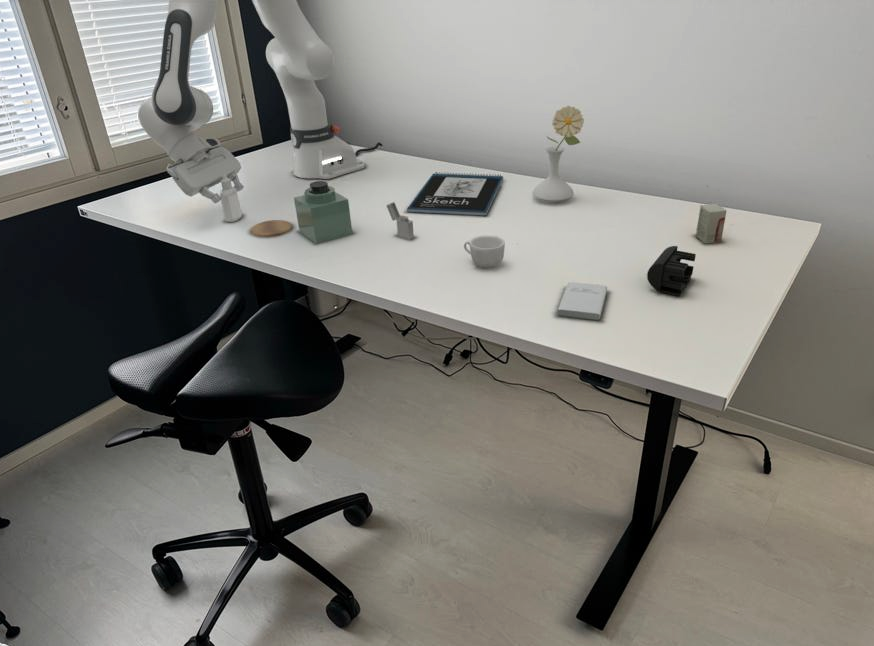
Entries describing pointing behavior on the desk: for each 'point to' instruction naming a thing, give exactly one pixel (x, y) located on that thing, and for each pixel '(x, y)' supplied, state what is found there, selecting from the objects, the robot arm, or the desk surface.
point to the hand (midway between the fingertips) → (230, 195)
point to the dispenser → (323, 215)
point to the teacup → (486, 251)
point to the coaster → (271, 228)
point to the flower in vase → (553, 185)
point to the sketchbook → (457, 194)
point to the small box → (711, 223)
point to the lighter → (401, 222)
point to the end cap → (671, 271)
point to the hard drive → (582, 301)
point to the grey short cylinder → (319, 187)
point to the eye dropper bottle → (230, 201)
